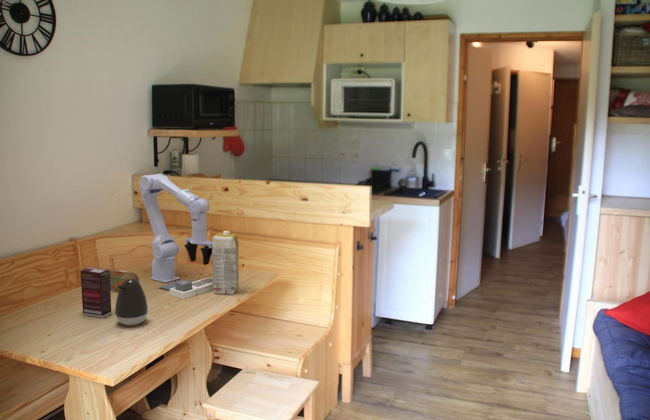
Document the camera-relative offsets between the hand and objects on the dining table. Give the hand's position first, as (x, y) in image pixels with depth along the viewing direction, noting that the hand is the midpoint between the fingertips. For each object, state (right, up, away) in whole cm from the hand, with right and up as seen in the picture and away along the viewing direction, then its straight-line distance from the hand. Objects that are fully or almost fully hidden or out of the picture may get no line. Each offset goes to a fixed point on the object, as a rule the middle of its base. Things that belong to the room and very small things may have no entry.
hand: (199, 262), depth 228 cm
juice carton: (+11, -11, -5) cm, 16 cm away
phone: (-9, -10, +2) cm, 14 cm away
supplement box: (-28, -15, -32) cm, 45 cm away
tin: (-28, -11, -7) cm, 31 cm away
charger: (-4, -12, -9) cm, 15 cm away
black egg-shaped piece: (-14, -17, -39) cm, 45 cm away
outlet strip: (+1, -10, -2) cm, 11 cm away
